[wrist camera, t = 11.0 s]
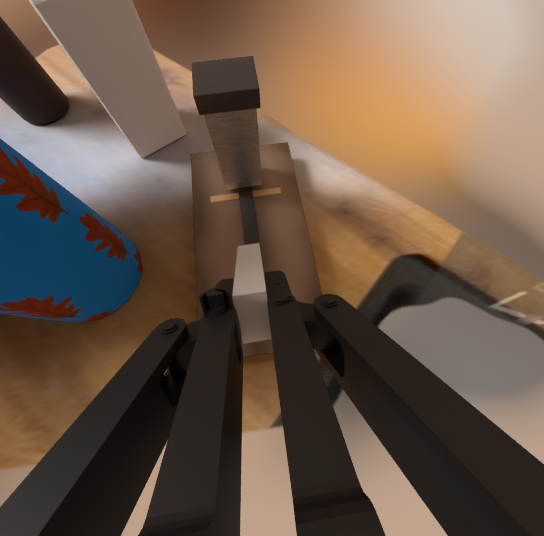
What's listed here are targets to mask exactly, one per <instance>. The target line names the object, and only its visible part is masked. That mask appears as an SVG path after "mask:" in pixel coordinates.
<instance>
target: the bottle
mask: <svg viewBox="0 0 544 536" xmlns="http://www.w3.org/2000/svg"><path fill="white" fill-rule="evenodd" d="M0 98H1V99H2V100H3V101H4V102H5V103H6V104H8V105H9V106H10V107H11V108H12V109H13V110H14V111H15V112H16V113H17V114H18V115H20V116H21V117H22V118H23V119H24V120H25V121H27V122H29V123H31V124H37V125H42V124H48V123H51V122H54V121H56V120H58V119H59V118H61V117H62V116H63V115H64V114H65V113H66V111H67V110H68V106H69V102H68V98H67V97H66V96H65V95H64V93H63V92H62V91H61V90H60V88H59V87H58V86H57V85H56V84H55V82H54V81H53V80H52V79H51V78H50V76H49V75H48V74H47V73H46V71H45V70H44V69H43V68H42V67H41V65H40V64H39V63H38V62H37V61H36V59H35V58H34V57H33V56H32V55H31V53H30V52H29V51H28V50H27V49H26V47H25V46H24V45H23V44H22V42H21V41H20V40H19V39H18V38H17V36H16V35H15V34H14V33H13V31H12V30H11V29H10V28H9V27H8V25H7V24H6V23H5V22H4V21H3V19H2V18H1V17H0Z"/></svg>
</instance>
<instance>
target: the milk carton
mask: <svg viewBox="0 0 544 536" xmlns="http://www.w3.org/2000/svg"><path fill="white" fill-rule="evenodd" d="M29 2H30V3H31V4H32V6H33V7H34V9H35V10H36V12H37V13H38V14H39V16H40V17H41V19H42V20H43V21H44V23H45V24H46V26H47V27H48V28H49V30H50V31H51V33H52V34H53V36H54V37H55V38H56V40H57V41H58V42H59V44H60V46H61V47H62V48H63V50H64V51H65V53H66V54H67V55H68V57H69V58H70V60H71V61H72V63H73V64H74V65H75V67H76V68H77V70H78V71H79V72H80V74H81V75H82V77H83V78H84V80H85V81H86V82H87V84H88V85H89V87H90V88H91V89H92V91H93V92H94V94H95V95H96V97H97V98H98V99H99V101H100V102H101V104H102V105H103V106H104V108H105V109H106V111H107V112H108V114H109V115H110V116H111V118H112V119H113V121H114V122H115V123H116V125H117V126H118V128H119V129H120V130H121V132H122V133H123V134H124V136H125V137H126V138H127V140H128V141H129V142H130V144H131V145H132V146H133V148H134V149H135V150H136V152H137V153H138V154H139V155H140V157H141V158H144V157H146V156H148V155H150V154H151V153H153V152H155V151H157V150H159V149H161V148H162V147H164V146H166V145H168V144H170V143H172V142H173V141H175V140H177V139H179V138H181V137H182V136H184V135H186V131H185V128H184V126H183V123H182V121H181V119H180V116H179V114H178V111H177V109H176V106H175V104H174V102H173V99H172V97H171V94H170V92H169V89H168V87H167V84H166V82H165V80H164V77H163V75H162V72H161V70H160V67H159V65H158V63H157V60H156V58H155V55H154V53H153V50H152V48H151V46H150V44H149V41H148V38H147V36H146V33H145V31H144V28H143V26H142V24H141V21H140V19H139V16H138V14H137V12H136V9H135V6H134V4H133V2H132V0H29Z"/></svg>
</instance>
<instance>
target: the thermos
mask: <svg viewBox="0 0 544 536" xmlns="http://www.w3.org/2000/svg"><path fill="white" fill-rule="evenodd" d="M141 271H142V264H141V258H140V253H139V252H138V250H137V249H136V247H135V246H134V244H133V243H132V242H131V241H130V240H129V239H128V238H127V237H125V236H124V235H123V234H122V233H121V232H120V231H119V230H118V229H116V228H115V227H114V226H113V225H112V224H111V223H109V222H108V221H107V220H105V219H104V218H103V217H101V216H100V215H99V214H98V213H96V212H95V211H94V210H92V209H91V208H90V207H88V206H87V205H86V204H85V203H83V202H82V201H81V200H79V199H78V198H77V197H75V196H74V195H73V194H72V193H70V192H69V191H68V190H66V189H65V188H64V187H62V186H61V185H60V184H59V183H57V182H56V181H55V180H53V179H52V178H51V177H49V176H48V175H47V174H46V173H44V172H43V171H42V170H40V169H39V168H38V167H36V166H35V165H34V164H33V163H31V162H30V161H29V160H27V159H26V158H25V157H23V156H22V155H21V154H20V153H18V152H17V151H16V150H14V149H13V148H12V147H10V146H9V145H8V144H7V143H5V142H4V141H3V140H1V139H0V314H7V315H14V316H22V317H29V318H37V319H44V320H56V321H70V322H87V321H93V320H99V319H101V318H103V317H105V316H107V315H109V314H111V313H113V312H115V311H117V310H118V309H119V308H120V307H121V306H122V305H123V304H124V303H125V302H126V301H127V300H128V299H130V297H131V295H132V294H133V292H134V290H135V289H136V287H137V285H138V284H139V280H140V275H141Z"/></svg>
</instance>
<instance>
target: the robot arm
mask: <svg viewBox="0 0 544 536" xmlns="http://www.w3.org/2000/svg"><path fill="white" fill-rule="evenodd" d="M199 299H200V303H201V306H202V309H203V312H204V314H203V317H202V318H201V319H200V320H198V321H195V322H192V323H190V324H187V325H186V322H185V321H184V320H183V319H179V318H176V319H170V320H167V321H165V322H163V323H161V324H160V325H159V326H157V327H156V328H155V329H154V330H153V332H152V333H151V334H150V335H149V336H148V337H147V339H146V340H145V341H144V342H143V343H142V344H141V345H140V347H139V348H138V349H137V350H136V351H135V352H134V354H133V355H132V356H131V357H130V358H129V359H128V360H127V362H126V363H125V364H124V365H123V366H122V367H121V369H120V370H119V371H118V372H117V373H116V374H115V375H114V377H113V378H112V379H111V380H110V381H109V382H108V384H107V385H106V386H105V387H104V388H103V389H102V390H101V392H100V393H99V394H98V395H97V396H96V397H95V399H94V400H93V401H92V402H91V403H90V404H89V405H88V407H87V408H86V409H85V410H84V411H83V412H82V413H81V415H80V416H79V417H78V418H77V419H76V420H75V422H74V423H73V424H72V425H71V426H70V427H69V428H68V430H67V431H66V432H65V433H64V434H63V435H62V437H61V438H60V439H59V440H58V441H57V442H56V443H55V445H54V446H53V447H52V448H51V449H50V450H49V452H48V453H47V454H46V455H45V456H44V457H43V458H42V460H41V461H40V462H39V463H38V464H37V465H36V467H35V468H34V469H33V470H32V471H31V472H30V473H29V475H28V476H27V477H26V478H25V479H24V480H23V482H22V483H21V484H20V485H19V486H18V487H17V488H16V490H15V491H14V492H13V493H12V494H11V495H10V497H9V498H8V499H7V500H6V501H5V502H4V503H3V505H2V506H1V507H0V536H121V534H122V532H123V530H124V528H125V526H126V524H127V522H128V520H129V518H130V516H131V513H132V512H133V509H134V507H135V505H136V503H137V501H138V499H139V497H140V495H141V493H142V491H143V489H144V487H145V485H146V483H147V481H148V479H149V477H150V475H151V473H152V470H153V468H154V466H155V464H156V462H157V460H158V458H159V456H160V454H161V452H162V450H163V448H164V446H165V444H166V442H167V440H168V442H167V445H166V449H165V453H164V456H163V460H162V463H161V467H160V471H159V474H158V477H157V481H156V485H155V489H154V492H153V496H152V499H151V503H150V506H149V509H148V513H147V517H146V520H145V523H144V525H143V528H142V530H141V532H140V534H139V535H138V536H240V503H241V502H240V501H241V445H242V444H241V442H242V389H243V349H242V345H241V337H242V342H243V344H245V343H251V342H257V341H264V340H270V339H272V346H273V353H274V361H275V368H276V376H277V383H278V391H279V398H280V406H281V413H282V421H283V429H284V436H285V443H286V451H287V458H288V466H289V473H290V481H291V489H292V496H293V504H294V515H295V523H296V531H297V536H385V533H384V531H383V528H382V525H381V523H380V521H379V518H378V515H377V513H376V511H375V508H374V506H373V504H372V502H371V501H370V499H369V498H368V497H367V496H366V494H365V493H364V492H363V490H362V488H361V486H360V483H359V480H358V478H357V475H356V472H355V469H354V466H353V463H352V460H351V457H350V455H349V452H348V449H347V446H346V443H345V440H344V437H343V434H342V431H341V429H340V425H339V423H338V420H337V417H336V414H335V411H334V408H333V405H332V402H331V399H330V397H329V394H328V391H327V388H326V385H325V382H324V379H323V376H322V373H321V370H320V368H319V365H318V362H317V359H316V356H315V353H314V350H313V349H316V351H317V353H318V355H319V356H320V358H321V359H322V360H323V362H324V363H325V365H326V366H327V367H328V369H329V370H330V372H331V373H332V374H333V376H334V377H335V379H336V380H337V381H338V383H339V384H340V386H341V387H342V388H343V390H344V391H345V392H346V394H347V395H348V397H349V398H350V400H351V401H352V402H353V404H354V405H355V406H356V408H357V409H358V411H359V412H360V413H361V415H362V416H363V418H364V419H365V420H366V422H367V423H368V425H369V426H370V427H371V429H372V430H373V432H374V433H375V434H376V436H377V437H378V438H379V440H380V441H381V443H382V444H383V446H384V447H385V448H386V450H387V451H388V452H389V454H390V455H391V457H392V458H393V459H394V461H395V462H396V464H397V465H398V466H399V468H400V469H401V470H402V472H403V474H404V475H405V476H406V478H407V479H408V480H409V482H410V483H411V485H412V486H413V487H414V489H415V490H416V491H417V493H418V494H419V496H420V497H421V499H422V500H423V501H424V503H425V504H426V506H427V507H428V508H429V510H430V511H431V513H432V514H433V515H434V517H435V518H436V520H437V521H438V522H439V524H440V525H441V527H442V528H443V529H444V531H445V532H446V534H447V535H448V536H544V464H542V463H541V462H540V461H539V460H538V459H537V458H535V457H534V456H533V455H532V454H530V453H529V452H528V451H527V450H526V449H524V448H523V447H522V446H521V445H520V444H518V443H517V442H516V441H515V440H513V439H512V438H511V437H510V436H509V435H507V434H506V433H505V432H504V431H503V430H501V429H500V428H499V427H498V426H497V425H495V424H494V423H493V422H492V421H491V420H489V419H488V418H487V417H486V416H484V415H483V414H482V413H481V412H480V411H478V410H477V409H476V408H475V407H474V406H472V405H471V404H470V403H469V402H467V401H466V400H465V399H464V398H463V397H461V396H460V395H459V394H458V393H457V392H455V391H454V390H453V389H452V388H451V387H449V386H448V385H447V384H446V383H444V382H443V381H442V380H441V379H440V378H438V377H437V376H436V375H435V374H433V373H432V372H431V371H430V370H429V369H427V368H426V367H425V366H424V365H422V364H421V363H420V362H419V361H418V360H417V359H415V358H414V357H413V356H412V355H411V354H409V353H408V352H407V351H406V350H404V349H403V348H402V347H401V346H400V345H398V344H397V343H396V342H395V341H394V340H392V339H391V338H390V337H389V336H387V335H386V334H385V333H384V332H383V331H381V330H380V329H379V328H378V327H377V326H375V325H374V324H373V323H372V322H371V321H369V320H368V319H367V318H366V317H364V316H363V315H362V314H361V313H360V312H358V311H357V310H356V309H355V308H354V307H352V306H351V305H350V304H349V303H348V302H346V301H345V300H344V299H343V298H341V297H339V296H337V295H333V294H325V295H320V296H318V297H316V298H315V299H314V303H303V302H299V301H297V300H296V298H295V297H294V296H293V295H292V293H291V290H290V287H289V284H288V281H287V278H286V275H285V273H284V272H282V271H281V270H278V271H271V272H265V273H264V271H263V265H262V258H261V252H260V245H259V243H256V244H249V245H242V246H238V249H237V258H236V267H235V276H234V278H229V279H222V280H220V281H219V282H218V283H217V284H216V288H212V289H209V290H207V291H205V292H203V293H202V294H201V295H200V297H199ZM166 369H168V370H167V372H166V373H165V371H166ZM164 373H165V374H164Z"/></svg>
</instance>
